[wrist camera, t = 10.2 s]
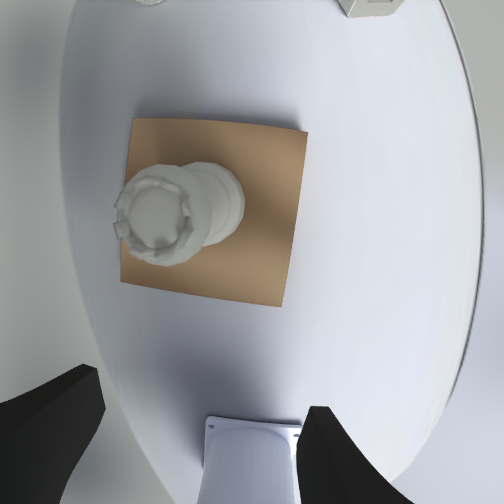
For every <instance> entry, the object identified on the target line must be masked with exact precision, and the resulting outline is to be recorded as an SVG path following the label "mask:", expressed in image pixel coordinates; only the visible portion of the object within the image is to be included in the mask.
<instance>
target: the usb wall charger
mask: <svg viewBox="0 0 504 504" xmlns="http://www.w3.org/2000/svg"><path fill="white" fill-rule="evenodd" d="M338 1H339V3H340V4H341V6H342V8H343V9H344V11H345V13H346V14H347V16H348V17H349V18H362V17H379V16H390V15H392V14H394V13H395V12H396V11H397V10H398V9H399V7H400V6H401V5H402V4H403V3H404V1H405V0H338Z"/></svg>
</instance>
